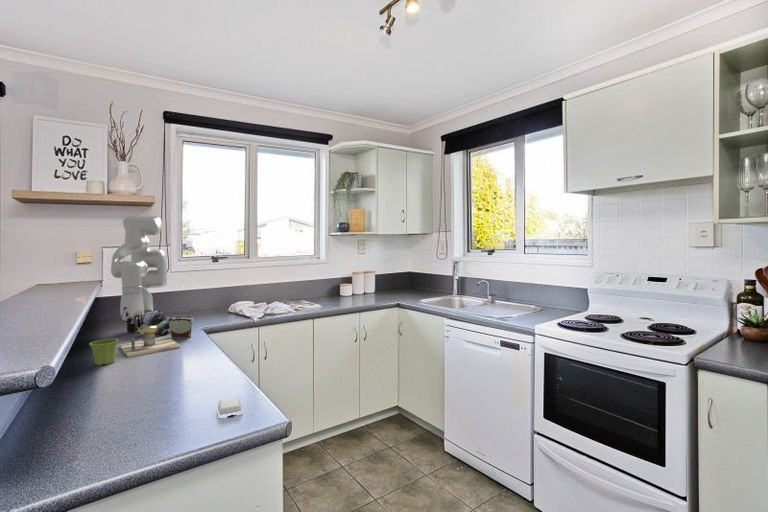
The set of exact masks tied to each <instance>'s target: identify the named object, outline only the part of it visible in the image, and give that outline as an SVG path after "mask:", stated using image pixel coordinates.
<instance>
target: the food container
mask: <svg viewBox="0 0 768 512" xmlns="http://www.w3.org/2000/svg"><path fill="white" fill-rule="evenodd" d="M168 317H169V318H168V322H169V326H170V329H169V332H170V338H171V339H191V337H192V329H193V328H192V325H193V322H194V318H193V316H192V315H187V314H186V315H175V316H174V315H173V316H168Z"/></svg>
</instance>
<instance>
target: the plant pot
mask: <svg viewBox="0 0 768 512" xmlns="http://www.w3.org/2000/svg"><path fill="white" fill-rule="evenodd" d="M118 341H119V339H118V338H105V339H99V340H95V341H94V340H93V341H92V342H89V344H88V345H89V346H90V349H92V353H93V357H94V358H93V359H94V363H95V365H96V364H97V365H96V366H101V365H102V364H107V365H110V364H109V363H111V364H113V363H114V362H115V360H116V353H117V352H116V349H117V345H118ZM112 362H113V363H112Z"/></svg>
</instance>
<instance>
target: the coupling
mask: <svg viewBox="0 0 768 512" xmlns="http://www.w3.org/2000/svg"><path fill="white" fill-rule="evenodd" d="M130 319H131V318H130ZM134 323H135V332H134V333H137V332H136V331H140V332H139V334H140V335H143V334H144V333H152V332H156V331H157V326H155V325H151V326H144V327H138V317H134Z"/></svg>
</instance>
